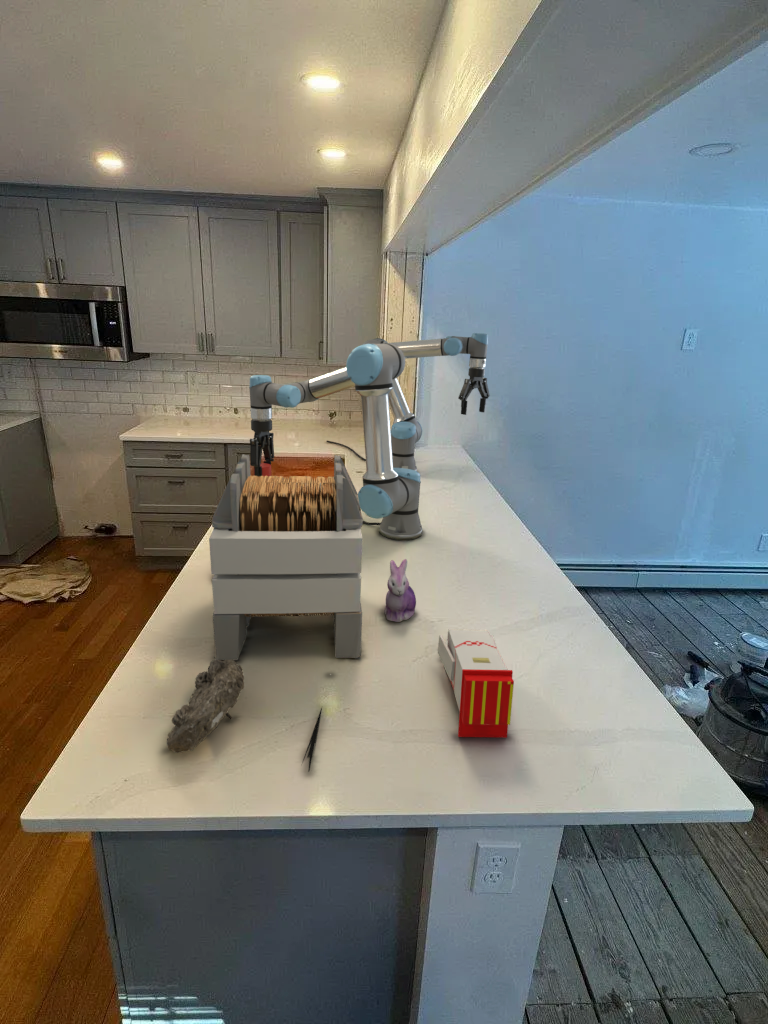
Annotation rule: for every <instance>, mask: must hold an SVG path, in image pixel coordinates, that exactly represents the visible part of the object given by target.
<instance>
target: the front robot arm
mask: <svg viewBox="0 0 768 1024" xmlns="http://www.w3.org/2000/svg"><path fill="white" fill-rule="evenodd" d="M390 343H391V342H388V343H383V344H365V345H362V344H361V345H358V346H356V347H355V348H353V349H352V350H351V352H350V353H349V354H348V356H347V359H346V363H345V364H346V365H345V366H342V367H340V368H337V369H333V370H331V371H328V372H326V373H323V374H320V375H317V376H314V377H312V378H309V379H306V380H302V381H297V382H289V383H288V382H287V383H278V382H277V383H276V382H273V381H272V377H271V376H270V375H267V374H254V375H251V376H249V387H248V389H249V403H250V407H249V412H250V419H251V420H250V429H251V431H253V432H254V434H253V438H249V444H250V445H249V446H250V448H249V449H250V452H249V453H250V454H249V458H250V467H253V476H258V477H259V476H260V477H261V476H262V466H260V465H261V463H262V456H263V458H264V461H263V463H268V464H271V465H272V462H275V447H274V445H275V444H274V432H271V431H272V430H273V420H272V419H273V407H272V406H278V407H281V408H285V409H288V408H289V409H290V408H291V409H292V408H293V409H294V408H296V407H297V406H298V405H300V404H305V403H313V402H315V401H319V399H322V398H325V397H328V396H331V395H334V394H337V393H340V392H343V391H346V390H349V389H352V388H354V390H355V392H356V393H357V394H358V395H359V396H360V404H361V405H360V406H361V416H362V417H361V418H362V429H363V431H362V432H363V441H364V442H363V443H364V453H365V454H364V455H365V459H366V461H365V466H366V471H365V473H363V475H362V486H361V487H360V489H359V491H358V492H357V494H358V500H359V504H360V509H361V512H363V513H364V514H365V515H366V516H367V517H368V518H369V517H370V518H372V519H377V520H378V519H381V522H375V521H374V522H373V521H371V522H370V521H365V520H363V524H362V525H367V526H378V533H379V534H380V535H381V536H382V537H385V538H387V539H389V540H395V541H410V540H415V539H418V538H420V537H421V536H422V535H423V525H422V524H421V518H420V515H419V507H420V506H419V505H420V496H421V495H420V494H421V493H420V492H421V483H422V481H421V473H420V472H419V471H418V470H417V471H415V470H411V469H405V468H393V459H392V444H391V418H390V417H391V415H390V407H389V399H388V394H389V392H390V391H391V390H392V388H393V385H392V380H394V379H396V378H397V379H398V378H399V377H400V376H401V375H402V374H403V373H404V371H405V368H406V359H405V357H404V354H403V352H402V351H401V349H400V348H399V347H397V346H396V345H394V344H390Z"/></svg>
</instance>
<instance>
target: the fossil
mask: <svg viewBox="0 0 768 1024" xmlns="http://www.w3.org/2000/svg"><path fill="white" fill-rule="evenodd" d="M243 670H244V669H243V667H242V665H240V664H237V662H236V660H232V659H231V660H228V659H227V660H221V661H217V660H215V659H212V660H211V661H210V663H209V665H208V666H207V671H201V672H199V673H198V674H197V675H196V676H195V680H194V684H195V685H194V687H195V689H194V690H193V693H192V694H191V697H190V698H189V700H188V704H184V705H182V706H181V707H180V709H177V710H176V711H175V713H174V715H173V716H172V718H171V723H172V724H173V727H172V730H171V731H170V732H168V734H167V738H166V741H167V742H166V745H167V749H168V750H169V751H173V752H174V753H176V754H178V753H182V752H188V751H189V752H192V751H193V750H195V748H196V747H197V746H199V744H200V743H201V742H203V741H204V740H205V739H206V738H207V737H208V736H209V735H210V734H211V733H212V732H214V730H215V729H217V727H218V726H219V724H220V722H221V721H222V720H223V719H224V718H225V716H226V717H227V719H229V720H233V717H232V715H230V714H229V710H230V709H231V708H234V706H235V704H236V703H237V702H238V699H239V697H240V695H241V693H242V691H243V690H245V689H244V688H245V675H244V671H243Z"/></svg>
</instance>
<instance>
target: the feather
mask: <svg viewBox="0 0 768 1024" xmlns="http://www.w3.org/2000/svg"><path fill="white" fill-rule="evenodd" d="M329 675H330V676H331V675H332V674H331V673H330V674H329ZM322 710H323V707H321V708H320V710H319V713H318V716H317V719H316V723H315V725H314V728H313V731H312V733H311V737H310V739H309V742H308V745H307V748H306V751H305V754H304V757H303V760H302V763H301V767H302V765H303V763H304V761H305V758H308V759H309V760H308V762H307V763H308V764H307V766H308V771H310V770H311V766H312V765H311V764H312V760H313V757H315V756H314V755H315V751H316V749H315V746H317V739H318V733H319V729H320V722H321V717H322V712H323V711H322ZM313 754H314V755H313ZM306 755H307V757H306Z"/></svg>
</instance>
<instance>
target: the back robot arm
mask: <svg viewBox="0 0 768 1024" xmlns="http://www.w3.org/2000/svg"><path fill="white" fill-rule="evenodd" d="M383 343H390V344H394V345H396V346H397V347H399V348H400V349H401V351H402V352H403V354H404V357H405V360H406V359H407V360H408V359H418V358H419V359H420V358H433V357H446V356H448V357H449V356H450V357H454V356H458V355H459V354H460V355H462V354H464V355H469V362H468V364H469V365H468V366H469V368H468V377H469V378H464V380H463V381H464V382H463V385H462V387H461V390H460V393H459V394H458V400H459V401H461V402H460V415H462V416H463V415H464V416H467V410H468V398H469V396H470V395H471V393H472V392H473V390H475V389H477V390H478V392H479V393H478V394H479V395H480V396H481V397H480V399H479V409H478V412H479V413H485V410H486V405H487V400H488V399H489V398H490V396H491V395H490V391H489V386H488V378H487V377H485V375H486V374H485V373H486V369H485V368H486V364H487V354H488V347H489V346H488V345H489V335H488V333H482V332H473V333H472V334H471V336H457V335H451V336H450V335H447V336H446V337H443V338H433V339H432V338H431V339H430V338H429V339H421V340H420V339H419V340H408V341H407V340H406V341H394V342H388V341H387V340H385V339H383V338H380V337H379V338H377V337H376V338H372V339H371V338H370V339H367V340H365V341H364V342H363V343H362V344H361V345H365V344H383ZM392 385H393V388H392V390H391V391H390V392H389V394H388V399H389V410H390V412H391V414H392V417H393V422H392V425H391V427H390V429H391V444H392V459H393V468H405V469H411V470H415V471H417V472H418V467H417V465H416V464H417V463H416V459H415V448H416V447H415V446H416V445H415V444H416V443H418V442H419V441H420V439H421V438H422V435H423V427H422V424H421V423H420V422H419V421H418V419H417V417H416V415H415V414H414V413H412V412H411V410H410V408H409V406H408V403H407V400H406V398H405V395H404V393H403V391H402V390H403V389H402V388H401V384H400V382H399V380H398V377H397V378H396V379H394V380H392ZM326 443H328V444H329V443H330V444H334V445H337V446H341V447H344V448H346V449H348V450H350V451H351V452H352V453H353V454H354V455H356V456H357V457H358V458H360V459H361V460H362V461H364V462H366V458H364V457H363V456H361V455H360V454H358V452H356V451H355V450H354V449H353V448H351V447H350V446H348V445H345V444H343V443H339V442H336V441H331V440H326Z"/></svg>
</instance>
